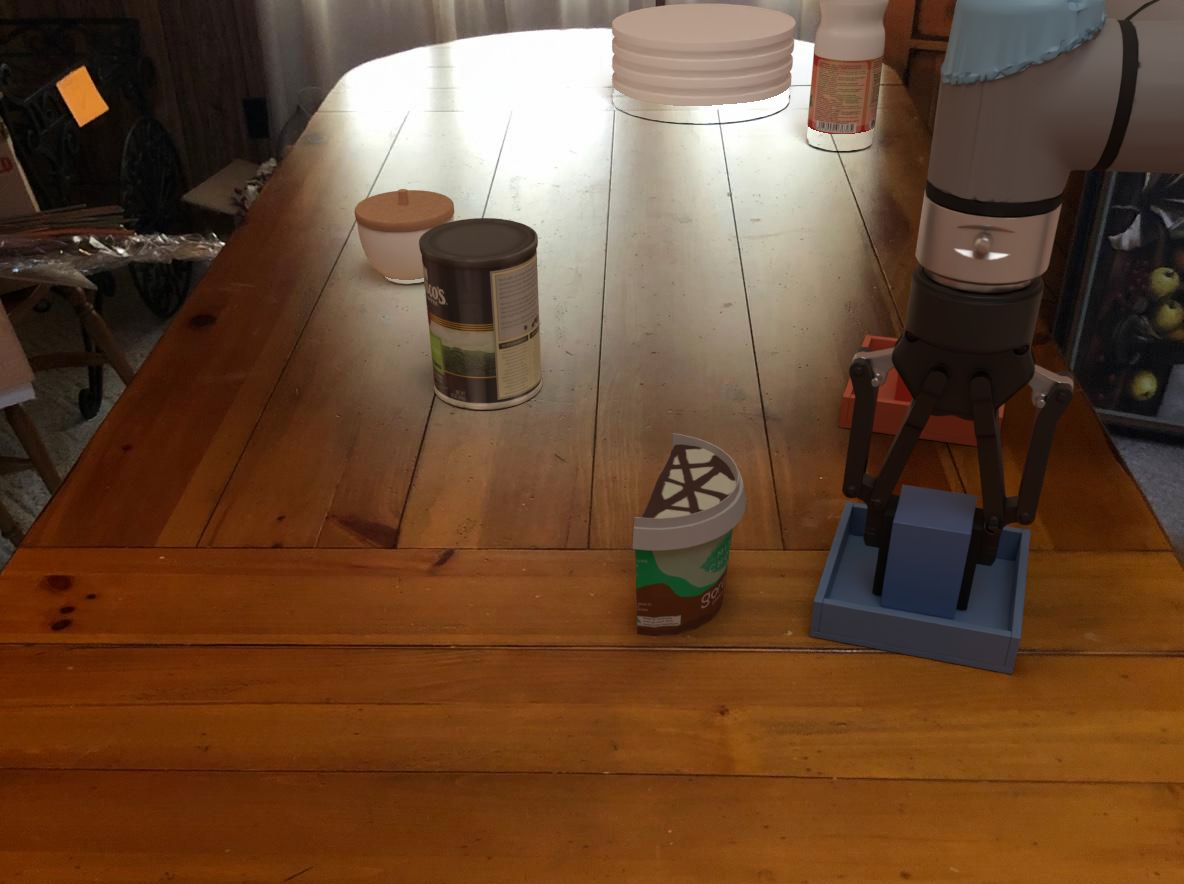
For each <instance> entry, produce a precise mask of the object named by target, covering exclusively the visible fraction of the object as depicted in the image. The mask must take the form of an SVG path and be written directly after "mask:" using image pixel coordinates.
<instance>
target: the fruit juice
mask: <svg viewBox="0 0 1184 884" xmlns="http://www.w3.org/2000/svg"><path fill="white" fill-rule="evenodd" d="M889 2H890V0H819V8H820V15H821V17H820V23H819V24H818V27H817V29H816V32H815V38H814V45H813V55H812V56H813V58H812V69H811V80H810V93H809V104H808V113H807V114H808V115H807V125H808V127H810V128H811V129H813V130H816V131H819V132H823V133H828V134H855V133H861V132H866V131H869V130H871V129H873V128H874V127H875V128H876V122H877V114H878V107H879V98H880V97H879V96H880V88H881V79H882V71H883V63H884V55H885V47H886V29H885V25H884V16H885V14H886V11H887V8H888V5H889Z"/></svg>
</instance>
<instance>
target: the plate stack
mask: <svg viewBox="0 0 1184 884" xmlns="http://www.w3.org/2000/svg"><path fill="white" fill-rule="evenodd" d="M796 26H797V23H796V19H795V18H794V17H792V16H791V15H789V14H787V13H785V12H782V11H778V10H775V9H771V8H767V7H760V6H754V5H746V4H745V5H744V4H733V3H679V4H668V5H658V6H651V7H650V6H649V7H645V8H640V9H635V10H631V11H628V12H625V13H623V14H620V15H618V16H617V17H615V18H614V19H613V20H612V22H611V33H612V35H613V36H614V37H613V38H612V40H611V51H612V54H613V56H612V58H611V68H612V70H613V73H612V75H611V76H612V77H611V78H612V79H611V80H612V81H611V82H612V83H613V85H612V87H613V86H614V88H615V89H616V90H617V91H619V92H620V93H622V94H624V95H625V96H628V97H630V98H633V99H636V100H640V101H644V102H649V103H655V104H663V105H673V106H712V105H723V104H737V103H747V102H754V101H760V100H765V99H768V98H771V97H774V96H777V95H779V94H781V93H783V92H784V91H786V90H787V89H788V88H789V87H790V88H791V86H792V78H793V76H792V72H791V71H792V69H793V63H794V57H793V55H792V54H793V52H794V49H795V39H794V34H795V33H796ZM612 83H611V84H612ZM790 85H791V86H790ZM614 88H613V89H614ZM790 88H789V89H790Z"/></svg>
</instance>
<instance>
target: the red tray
mask: <svg viewBox="0 0 1184 884" xmlns="http://www.w3.org/2000/svg"><path fill="white" fill-rule="evenodd" d="M898 339H899V338H898V337H897V338H896V337H887V336H879V335H872V334H865V336H864V339H863V342H862V344H861V347H868V348H870V349H871V350H872V351H878V350H883V349H889V348H894V346H895V343H896V342H897V340H898ZM897 377H898V372H897V371H896V369H895V368H892V369H891V370H889V371H888V376H887V379H886V382H885V383H884V384H883V385H882V386H880V387H879V391H878V398H877V404H876V411H875V418H874V424H873V431H872V433H877V434H886V435H892V436H896V434H897V432H898V430H899V427H900V425H901V423H902V421H903V419H904V417H905V415H906V412H907V410H908V408H909V406H910V403H911V402H904V401H896V400H894V398H895V391H896V384H897ZM854 402H855V394H854V390H853V386H852V382H851V378H850V377H849V379H848V381H847V384H846V387H845V390H844V392H843V395H842V401H841V408H840V417H839V425H838V427H839V428H842V429H850V430H851V424H852V417H853V409H854ZM1005 406H1006V403H1004V404H1003V405H1002V406H1001V407H1000V408H999V425H1000V430H1001V429H1002V424H1003V419H1004V412H1005ZM919 439H921V440H928V441H934V442H935V441H936V442H943V443H949V444H956V445H963V446H971V447H977V441H976V437H975V431H974V421H969V420H964V419H961V418H959V417H956V416H954V415H949V416H933V415H930V418H929V420H928V422H927V424H926V426H925V428H924V430H923V431H922V432H921V434H920V437H919Z"/></svg>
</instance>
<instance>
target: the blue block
mask: <svg viewBox="0 0 1184 884" xmlns="http://www.w3.org/2000/svg"><path fill="white" fill-rule="evenodd" d="M899 496H900V497H899V501H898V505H897V509H896V512H895V516H894V520H893V525H892V532H891V538H890V544H889V551H888V557H887V564H886V570H885V577H884V583H883V589H882V596H881V602H880V606H881V607H886V608H892V609H898V610H903V611H909V612H914V613H920V614H926V615H931V616H937V617H942V618H948V619H954V618H955V613H956V608H957V603H958V598H959V593H960V588H961V583H962V578H963V573H964V568H965V563H966V558H967V553H968V548H969V544H970V539H971V533H972V527H973V521H974V515H975V509H976V507H977V502H978V496H977V495H975V494H968V493H962V492H955V491H948V490H941V489H935V488H928V487H922V486H915V485H908V484H902V486H901V489H900V493H899Z"/></svg>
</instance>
